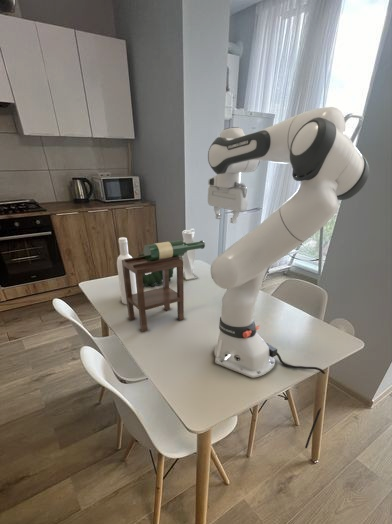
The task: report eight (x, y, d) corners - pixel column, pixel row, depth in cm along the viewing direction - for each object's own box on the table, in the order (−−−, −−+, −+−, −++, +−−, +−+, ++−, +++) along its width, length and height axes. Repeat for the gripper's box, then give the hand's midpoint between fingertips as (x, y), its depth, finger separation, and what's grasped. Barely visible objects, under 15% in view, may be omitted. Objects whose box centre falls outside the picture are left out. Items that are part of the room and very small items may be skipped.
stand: (183, 319, 132) (183, 258, 117) (142, 331, 122) (136, 267, 107) (167, 307, 141) (165, 249, 126) (128, 318, 132) (121, 257, 117)
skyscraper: (198, 279, 173) (199, 228, 158) (185, 281, 170) (185, 229, 155) (192, 274, 180) (193, 225, 164) (180, 276, 177) (179, 226, 161)
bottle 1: (134, 305, 143) (127, 241, 126) (119, 304, 144) (110, 239, 127) (140, 298, 149) (134, 236, 133) (125, 297, 150) (117, 235, 134)
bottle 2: (205, 255, 127) (208, 241, 122) (150, 265, 115) (152, 251, 110) (196, 247, 130) (200, 233, 125) (142, 256, 118) (144, 241, 113)
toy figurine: (142, 294, 158) (182, 281, 169) (135, 259, 147) (178, 247, 157) (134, 288, 165) (173, 276, 175) (128, 254, 154) (170, 243, 164)
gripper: (253, 183, 106) (249, 224, 114) (218, 179, 120) (216, 216, 128) (240, 184, 103) (236, 226, 111) (205, 179, 117) (204, 217, 125)
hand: (225, 221), depth 119 cm, fingers open, 8 cm apart
